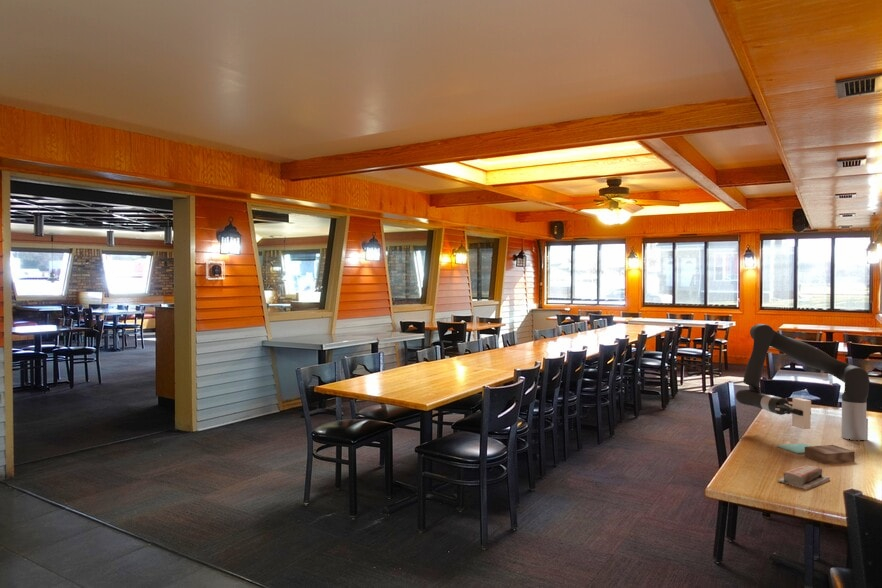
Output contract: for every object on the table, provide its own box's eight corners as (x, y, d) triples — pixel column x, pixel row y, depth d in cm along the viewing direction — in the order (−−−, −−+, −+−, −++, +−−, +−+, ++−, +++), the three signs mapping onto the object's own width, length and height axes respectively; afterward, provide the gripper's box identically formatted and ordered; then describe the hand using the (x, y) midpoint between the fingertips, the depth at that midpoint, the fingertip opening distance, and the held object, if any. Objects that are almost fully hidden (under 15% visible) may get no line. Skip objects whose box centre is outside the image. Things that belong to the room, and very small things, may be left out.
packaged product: (807, 477, 199) (777, 470, 207) (807, 491, 199) (777, 483, 207) (830, 468, 209) (800, 461, 217) (830, 481, 209) (800, 473, 217)
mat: (803, 444, 254) (803, 443, 254) (825, 451, 243) (825, 450, 243) (776, 446, 251) (776, 445, 251) (797, 454, 240) (797, 452, 240)
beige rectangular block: (798, 425, 250) (799, 397, 250) (810, 428, 244) (811, 400, 244) (791, 425, 249) (792, 398, 249) (803, 429, 243) (804, 400, 243)
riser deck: (832, 454, 240) (832, 444, 240) (854, 461, 230) (854, 451, 230) (804, 456, 237) (804, 446, 237) (825, 464, 227) (825, 453, 227)
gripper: (761, 396, 259) (792, 405, 242) (787, 395, 262) (820, 403, 246) (761, 413, 259) (792, 422, 243) (787, 412, 263) (820, 421, 246)
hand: (806, 413), depth 244 cm, fingers closed on beige rectangular block, 3 cm apart
